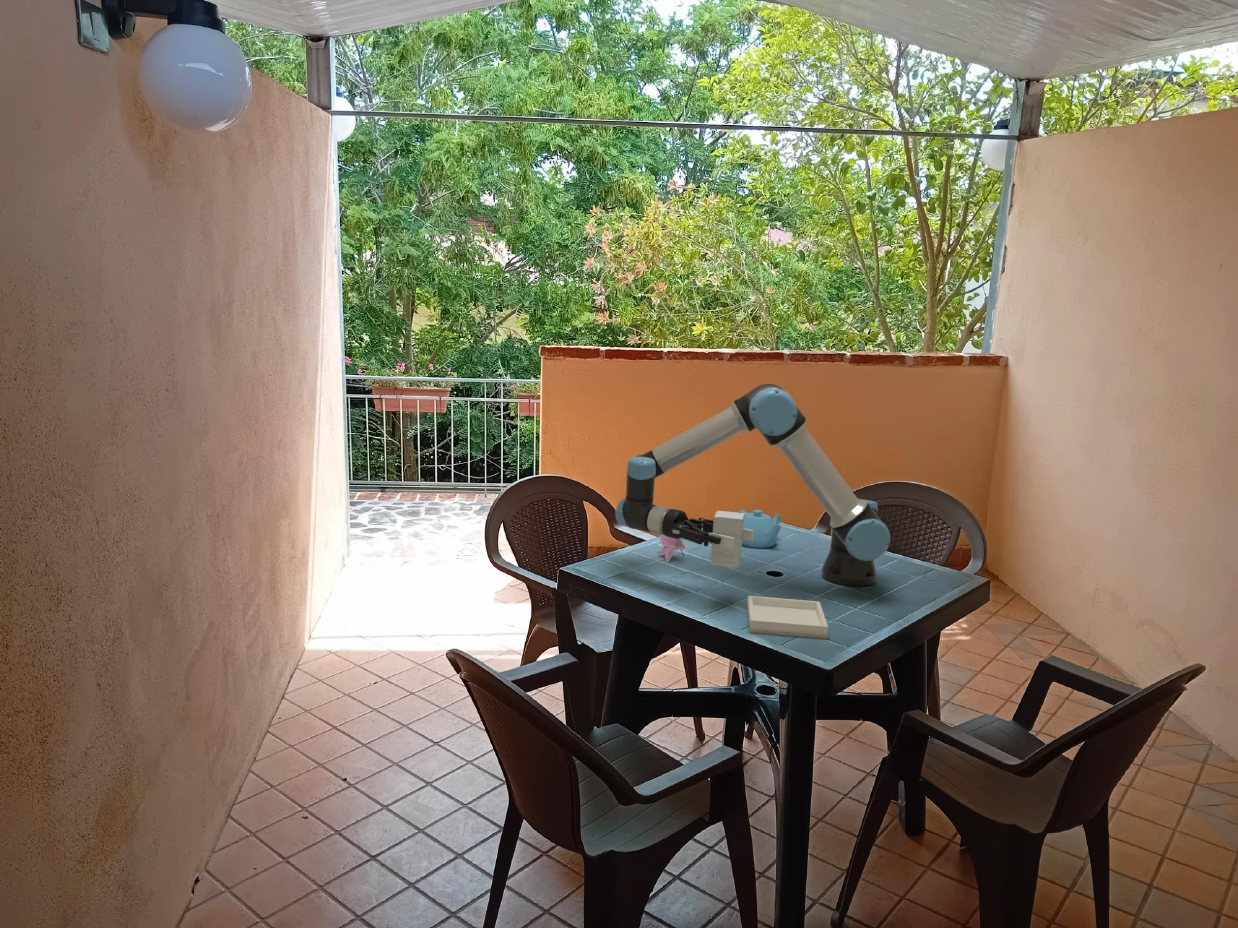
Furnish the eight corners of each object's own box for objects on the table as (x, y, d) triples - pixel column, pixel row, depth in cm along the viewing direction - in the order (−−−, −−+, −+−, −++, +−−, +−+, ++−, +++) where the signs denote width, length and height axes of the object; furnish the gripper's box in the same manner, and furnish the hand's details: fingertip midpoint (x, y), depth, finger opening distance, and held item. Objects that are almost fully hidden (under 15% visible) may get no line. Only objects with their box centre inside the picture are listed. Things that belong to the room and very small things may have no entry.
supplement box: (738, 568, 235) (742, 519, 233) (709, 564, 237) (713, 516, 234) (741, 560, 242) (745, 512, 240) (712, 556, 244) (716, 509, 241)
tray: (818, 612, 238) (819, 601, 237) (826, 638, 220) (828, 626, 220) (746, 606, 239) (747, 595, 239) (749, 632, 222) (750, 620, 221)
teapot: (780, 539, 306) (783, 507, 304) (778, 552, 291) (781, 518, 289) (733, 534, 309) (736, 503, 307) (729, 546, 294) (732, 513, 292)
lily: (659, 553, 286) (649, 528, 282) (695, 540, 285) (686, 516, 281) (663, 576, 276) (653, 551, 271) (701, 563, 275) (692, 538, 270)
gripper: (689, 528, 258) (762, 545, 245) (643, 543, 240) (719, 562, 228) (691, 502, 257) (764, 517, 244) (645, 515, 239) (722, 532, 226)
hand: (743, 539), depth 236 cm, fingers closed on supplement box, 9 cm apart
